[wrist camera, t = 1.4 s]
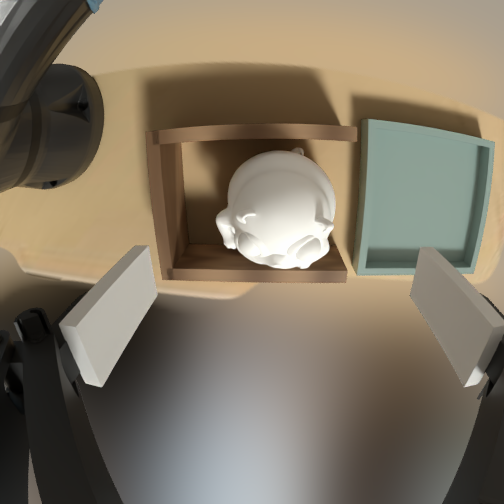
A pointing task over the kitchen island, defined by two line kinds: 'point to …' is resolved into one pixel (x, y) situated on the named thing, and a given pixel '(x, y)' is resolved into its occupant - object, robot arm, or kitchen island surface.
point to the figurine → (279, 210)
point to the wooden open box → (218, 255)
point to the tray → (420, 197)
